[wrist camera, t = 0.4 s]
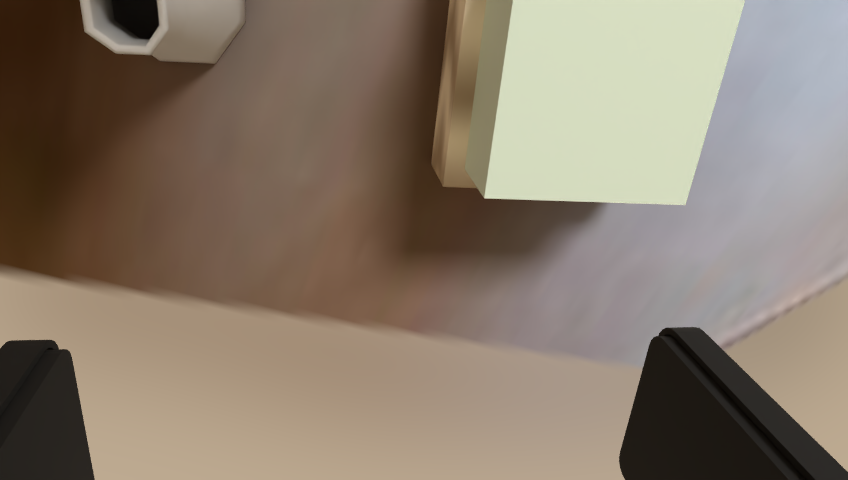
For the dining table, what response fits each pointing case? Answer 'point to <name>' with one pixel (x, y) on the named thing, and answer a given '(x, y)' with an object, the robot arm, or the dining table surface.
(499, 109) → the sage top block
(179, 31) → the flask
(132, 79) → the dining table surface
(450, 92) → the birch base block
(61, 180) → the dining table surface
